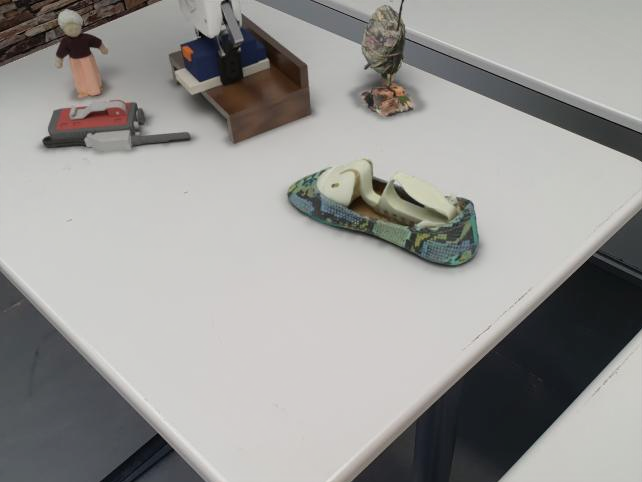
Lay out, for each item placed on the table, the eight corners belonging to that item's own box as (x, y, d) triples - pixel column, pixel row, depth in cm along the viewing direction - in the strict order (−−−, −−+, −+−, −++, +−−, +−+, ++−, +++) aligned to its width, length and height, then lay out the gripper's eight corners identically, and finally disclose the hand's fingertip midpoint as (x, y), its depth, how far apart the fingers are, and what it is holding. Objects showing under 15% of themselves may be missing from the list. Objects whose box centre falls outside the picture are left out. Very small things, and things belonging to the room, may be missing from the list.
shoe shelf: (234, 148, 92) (225, 94, 86) (175, 85, 104) (163, 33, 98) (311, 119, 96) (307, 64, 90) (245, 61, 108) (238, 10, 102)
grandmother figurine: (76, 109, 101) (46, 23, 92) (65, 99, 103) (34, 14, 94) (123, 90, 104) (98, 5, 95) (111, 80, 106) (86, -4, 97)
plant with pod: (401, 76, 103) (406, -71, 88) (424, 116, 95) (433, -37, 80) (347, 84, 102) (343, -62, 87) (366, 125, 94) (366, -27, 79)
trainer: (191, 95, 92) (184, 60, 89) (176, 79, 95) (168, 45, 92) (270, 67, 96) (266, 33, 93) (252, 53, 99) (248, 19, 96)
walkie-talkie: (42, 161, 93) (191, 148, 93) (30, 133, 89) (185, 119, 90) (54, 125, 98) (194, 113, 99) (43, 97, 95) (188, 84, 95)
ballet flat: (311, 176, 88) (306, 119, 82) (493, 234, 79) (503, 175, 73) (273, 216, 83) (265, 159, 77) (462, 282, 74) (471, 224, 68)
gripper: (141, -84, 86) (173, 55, 99) (199, -41, 76) (225, 107, 89) (196, -98, 88) (220, 40, 102) (259, -58, 78) (276, 89, 92)
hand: (222, 70), depth 95 cm, fingers closed on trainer, 5 cm apart
